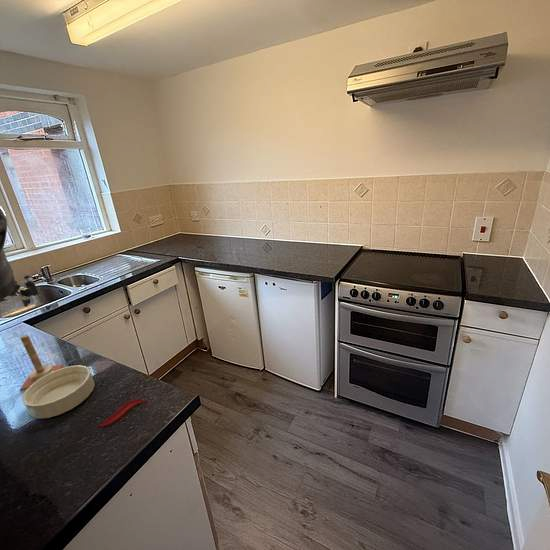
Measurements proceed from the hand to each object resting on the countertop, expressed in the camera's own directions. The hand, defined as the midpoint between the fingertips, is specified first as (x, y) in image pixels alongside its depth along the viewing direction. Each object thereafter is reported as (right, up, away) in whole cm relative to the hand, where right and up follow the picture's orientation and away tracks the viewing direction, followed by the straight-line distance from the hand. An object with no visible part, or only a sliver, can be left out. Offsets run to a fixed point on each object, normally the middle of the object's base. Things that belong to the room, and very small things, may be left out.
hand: (3, 310), depth 72 cm
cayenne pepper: (+26, -28, +7) cm, 39 cm away
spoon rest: (-9, -25, +24) cm, 36 cm away
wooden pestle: (-9, -24, +24) cm, 35 cm away
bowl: (+5, -27, +14) cm, 31 cm away
